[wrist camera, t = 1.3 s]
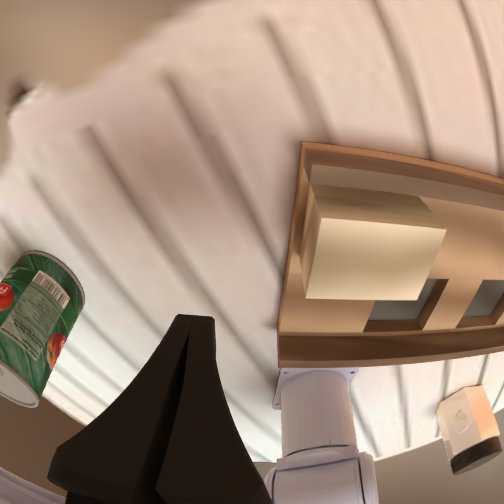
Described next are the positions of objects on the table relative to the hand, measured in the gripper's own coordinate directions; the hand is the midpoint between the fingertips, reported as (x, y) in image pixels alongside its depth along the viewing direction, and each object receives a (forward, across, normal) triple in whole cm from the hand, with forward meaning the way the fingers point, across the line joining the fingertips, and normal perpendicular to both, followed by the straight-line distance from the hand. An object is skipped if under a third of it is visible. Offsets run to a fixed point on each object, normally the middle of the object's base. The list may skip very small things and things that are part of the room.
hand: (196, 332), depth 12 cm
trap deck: (+10, -18, +4) cm, 21 cm away
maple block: (+9, -8, 0) cm, 12 cm away
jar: (+11, -36, +30) cm, 47 cm away
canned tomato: (+11, +16, +8) cm, 21 cm away
